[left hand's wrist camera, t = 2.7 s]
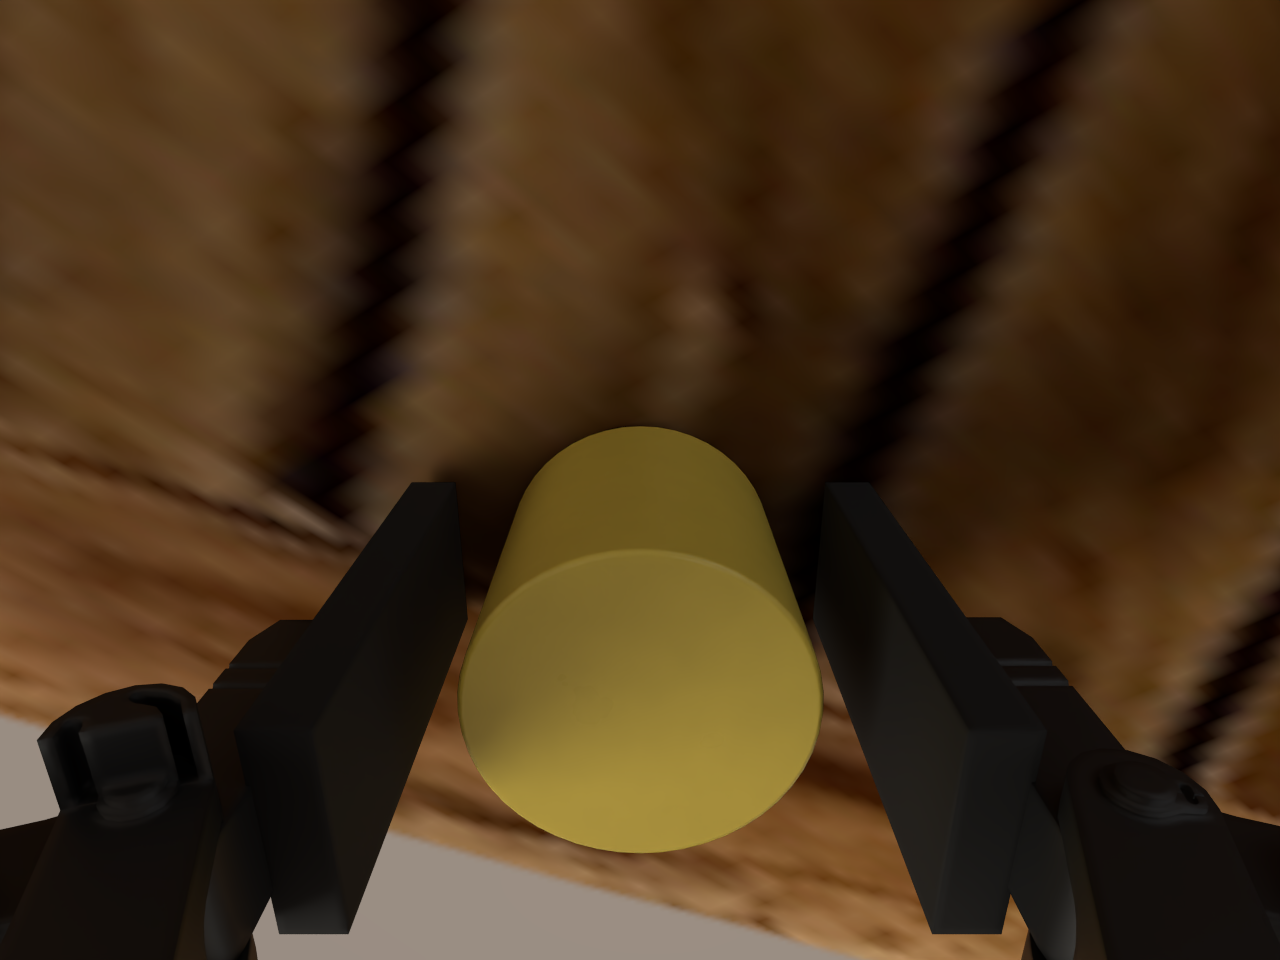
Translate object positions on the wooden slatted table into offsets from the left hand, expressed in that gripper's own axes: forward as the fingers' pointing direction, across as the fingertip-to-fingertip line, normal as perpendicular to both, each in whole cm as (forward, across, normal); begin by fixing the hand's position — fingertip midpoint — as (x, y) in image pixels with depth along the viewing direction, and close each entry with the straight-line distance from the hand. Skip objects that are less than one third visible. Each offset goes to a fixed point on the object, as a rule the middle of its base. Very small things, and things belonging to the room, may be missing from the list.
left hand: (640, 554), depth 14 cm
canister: (0, 0, 0) cm, 0 cm away
